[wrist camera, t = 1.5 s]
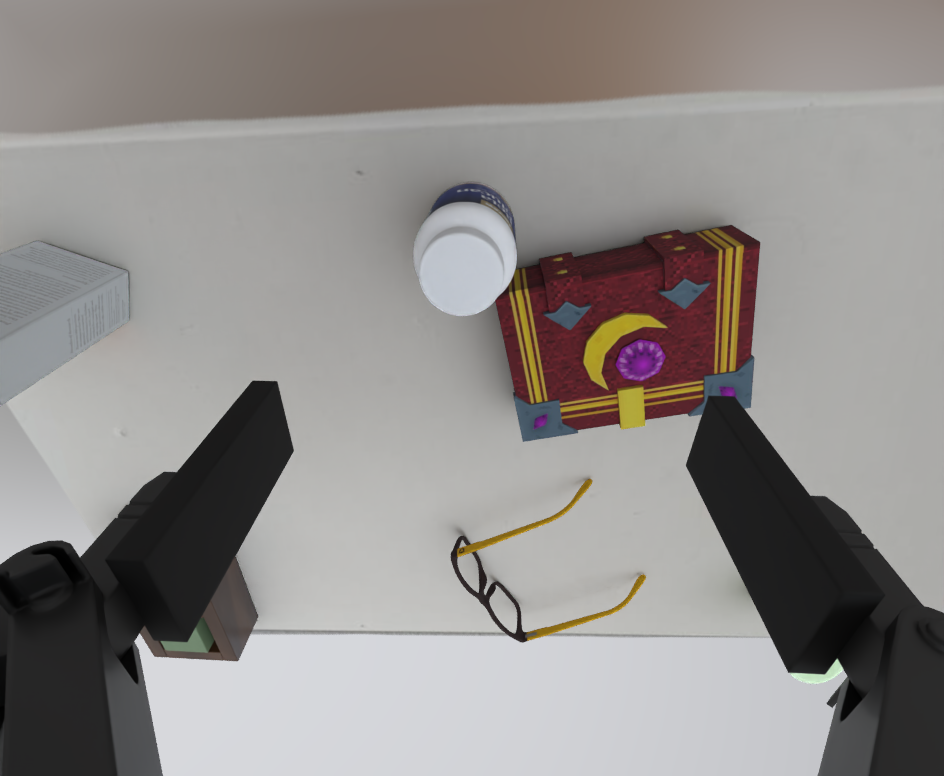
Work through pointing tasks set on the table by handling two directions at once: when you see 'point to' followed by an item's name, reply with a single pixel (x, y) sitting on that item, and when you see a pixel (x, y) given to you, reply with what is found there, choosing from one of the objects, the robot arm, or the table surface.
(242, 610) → the wooden cubby shelf
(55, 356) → the cosmetic box
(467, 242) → the pill bottle
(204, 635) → the peg
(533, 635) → the eyeglasses
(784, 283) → the table surface
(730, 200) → the table surface
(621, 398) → the decorative book
